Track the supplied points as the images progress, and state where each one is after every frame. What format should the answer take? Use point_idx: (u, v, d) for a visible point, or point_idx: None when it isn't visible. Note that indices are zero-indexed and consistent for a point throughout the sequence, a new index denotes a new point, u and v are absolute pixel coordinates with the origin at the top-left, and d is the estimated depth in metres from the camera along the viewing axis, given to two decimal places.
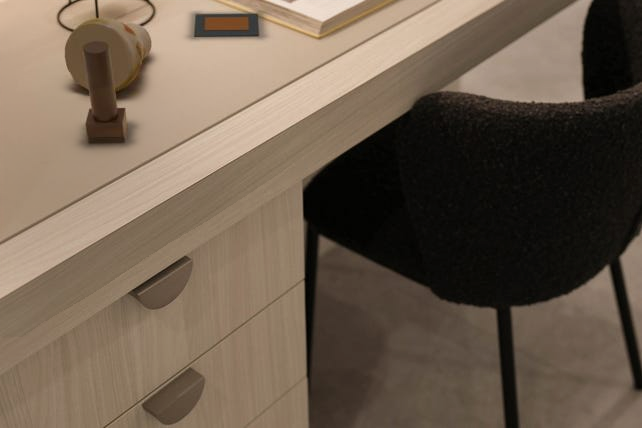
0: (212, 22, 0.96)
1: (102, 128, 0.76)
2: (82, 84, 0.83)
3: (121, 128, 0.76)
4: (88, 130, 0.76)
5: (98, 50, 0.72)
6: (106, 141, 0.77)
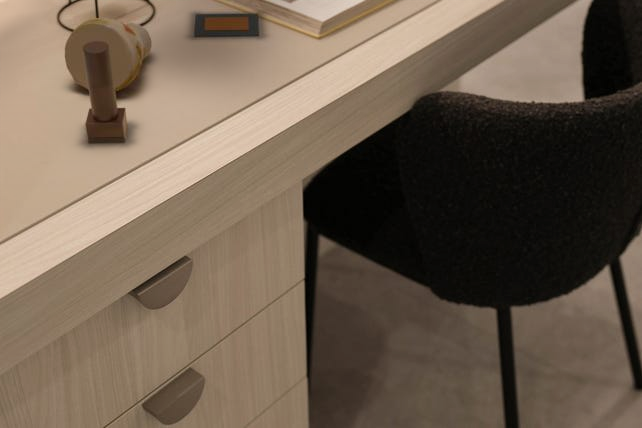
0: (212, 22, 0.96)
1: (102, 128, 0.76)
2: (82, 84, 0.83)
3: (121, 128, 0.76)
4: (88, 130, 0.76)
5: (98, 50, 0.72)
6: (106, 141, 0.77)
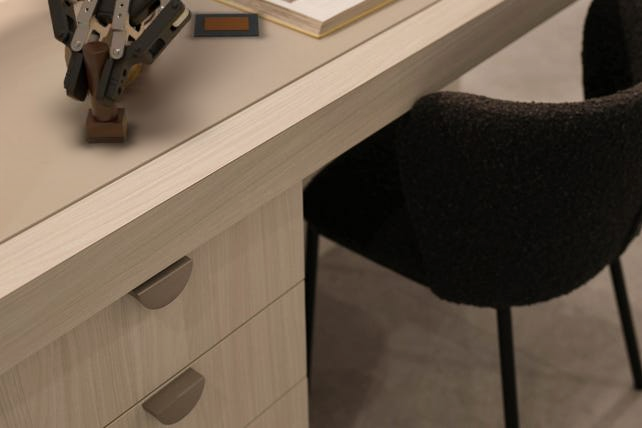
0: (212, 22, 0.96)
1: (102, 128, 0.76)
2: None
3: (121, 128, 0.76)
4: (88, 130, 0.76)
5: (98, 50, 0.72)
6: (106, 141, 0.77)
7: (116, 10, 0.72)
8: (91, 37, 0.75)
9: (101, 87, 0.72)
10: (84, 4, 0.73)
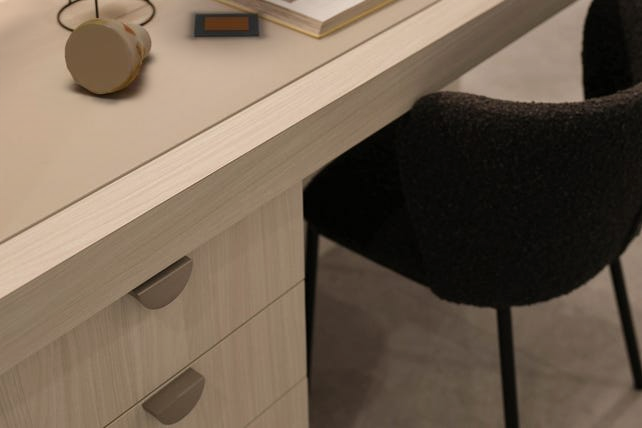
0: (212, 22, 0.96)
1: None
2: (82, 84, 0.83)
3: None
4: None
5: None
6: None
7: None
8: None
9: None
10: None
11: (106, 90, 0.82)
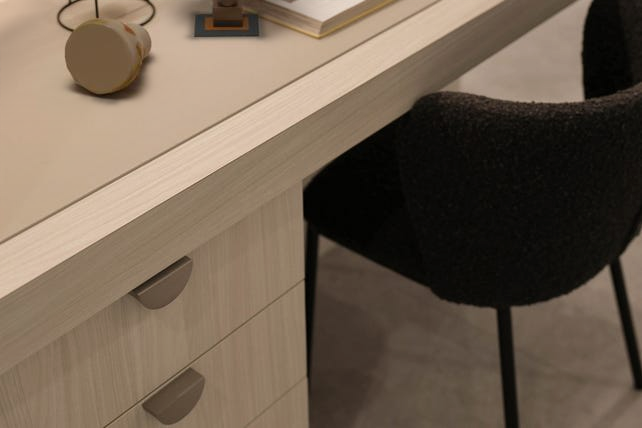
0: (212, 22, 0.96)
1: (225, 12, 0.94)
2: (82, 84, 0.83)
3: (240, 12, 0.94)
4: (214, 13, 0.94)
5: None
6: (227, 23, 0.95)
7: None
8: None
9: None
10: None
11: (106, 90, 0.82)
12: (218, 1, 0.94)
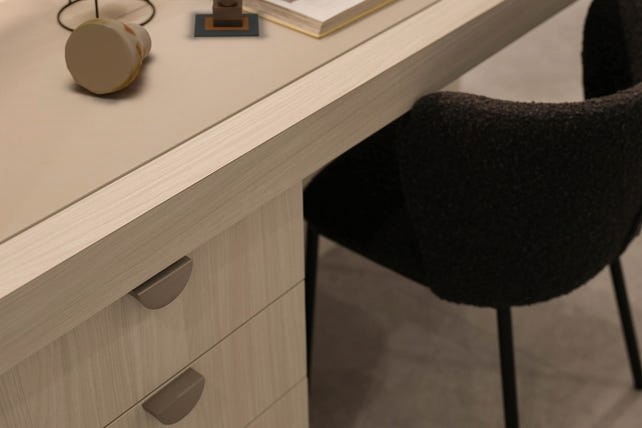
0: (212, 22, 0.96)
1: (225, 12, 0.94)
2: (82, 84, 0.83)
3: (240, 12, 0.94)
4: (214, 13, 0.94)
5: None
6: (227, 23, 0.95)
7: None
8: None
9: None
10: None
11: (106, 90, 0.82)
12: (218, 1, 0.94)
